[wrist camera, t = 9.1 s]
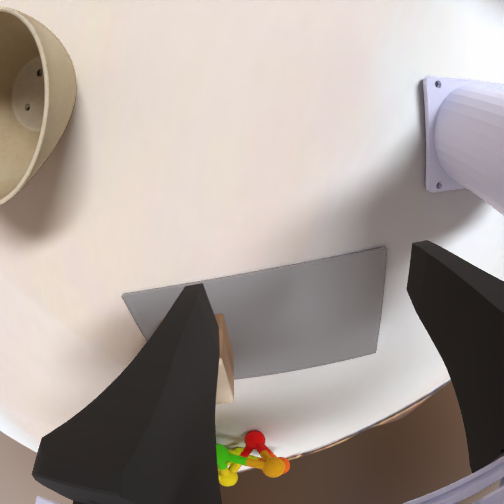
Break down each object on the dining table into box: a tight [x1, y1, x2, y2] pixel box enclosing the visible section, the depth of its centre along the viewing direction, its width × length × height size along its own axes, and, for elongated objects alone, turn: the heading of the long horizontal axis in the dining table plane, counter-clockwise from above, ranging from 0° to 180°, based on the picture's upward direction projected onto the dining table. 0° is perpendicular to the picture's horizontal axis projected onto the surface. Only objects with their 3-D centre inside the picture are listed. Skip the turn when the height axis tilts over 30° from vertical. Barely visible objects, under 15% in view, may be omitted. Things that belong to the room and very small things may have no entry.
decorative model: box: [216, 431, 290, 486], centre depth 33 cm, size 13×9×15 cm
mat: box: [122, 247, 387, 380], centre depth 25 cm, size 20×12×1 cm, turn 101°
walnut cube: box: [161, 314, 234, 404], centre depth 23 cm, size 5×5×5 cm
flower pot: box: [0, 7, 77, 206], centre depth 11 cm, size 10×10×7 cm
